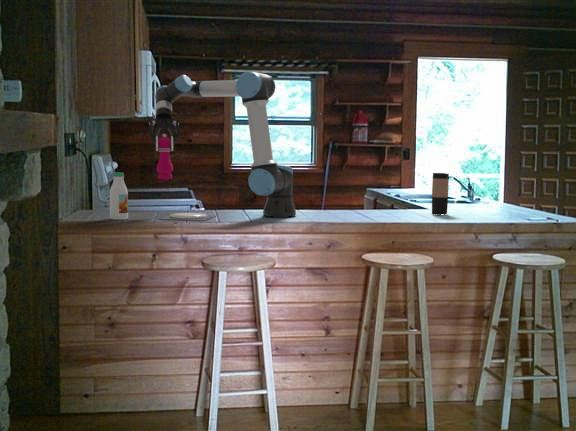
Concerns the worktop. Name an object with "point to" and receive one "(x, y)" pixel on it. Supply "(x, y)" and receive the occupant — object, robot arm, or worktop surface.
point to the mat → (188, 219)
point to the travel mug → (440, 193)
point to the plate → (188, 215)
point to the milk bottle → (118, 198)
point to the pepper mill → (164, 158)
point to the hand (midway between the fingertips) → (164, 148)
